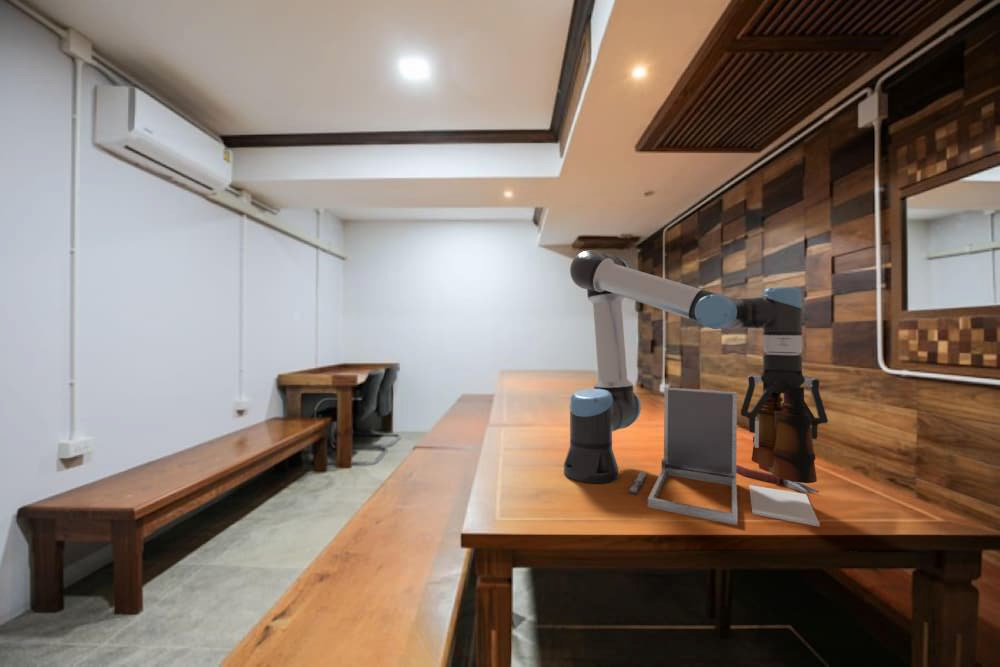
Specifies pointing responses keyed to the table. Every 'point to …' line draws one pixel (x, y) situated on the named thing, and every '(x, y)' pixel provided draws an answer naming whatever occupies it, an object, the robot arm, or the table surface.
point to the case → (699, 446)
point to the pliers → (773, 478)
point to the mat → (782, 505)
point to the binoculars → (786, 437)
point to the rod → (637, 483)
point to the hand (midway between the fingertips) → (781, 449)
